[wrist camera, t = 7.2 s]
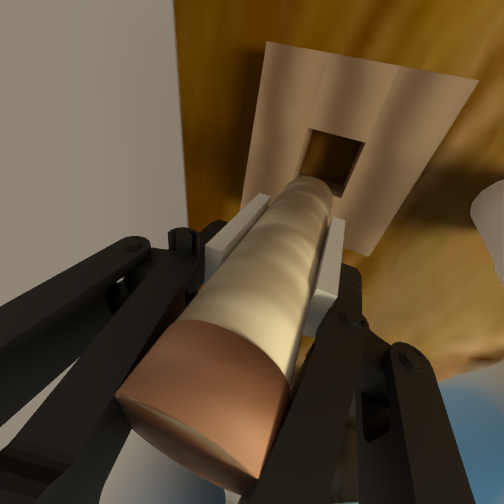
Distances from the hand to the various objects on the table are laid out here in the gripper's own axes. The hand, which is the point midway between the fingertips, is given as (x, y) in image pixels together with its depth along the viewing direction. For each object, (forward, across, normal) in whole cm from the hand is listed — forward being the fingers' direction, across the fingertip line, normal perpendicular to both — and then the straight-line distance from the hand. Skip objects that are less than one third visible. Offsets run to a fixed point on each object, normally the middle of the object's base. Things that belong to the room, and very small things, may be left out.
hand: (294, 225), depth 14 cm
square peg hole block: (+19, 0, -1) cm, 19 cm away
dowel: (+4, 0, 0) cm, 4 cm away
